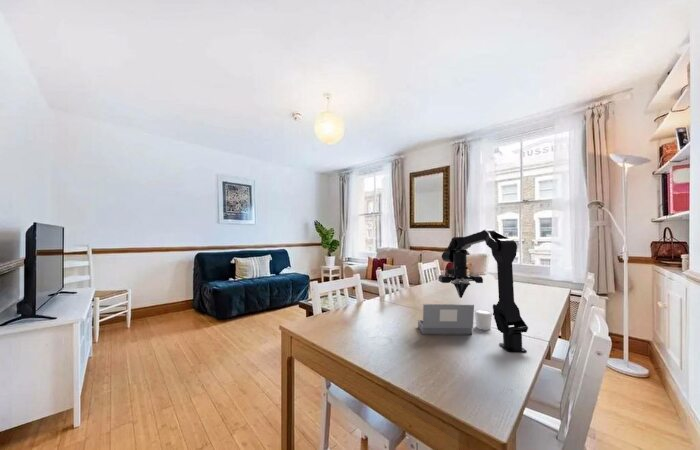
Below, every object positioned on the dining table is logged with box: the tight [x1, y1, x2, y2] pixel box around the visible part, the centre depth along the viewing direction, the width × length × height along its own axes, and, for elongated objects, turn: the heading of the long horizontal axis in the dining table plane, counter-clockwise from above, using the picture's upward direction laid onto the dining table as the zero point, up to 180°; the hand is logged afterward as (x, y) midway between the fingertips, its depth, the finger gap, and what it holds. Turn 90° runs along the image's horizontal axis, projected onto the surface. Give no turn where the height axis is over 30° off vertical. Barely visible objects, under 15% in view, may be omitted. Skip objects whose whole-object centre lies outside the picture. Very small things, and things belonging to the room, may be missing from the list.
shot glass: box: [474, 309, 493, 331], centre depth 119 cm, size 7×7×7 cm
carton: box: [417, 319, 473, 336], centre depth 115 cm, size 9×20×3 cm, turn 89°
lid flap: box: [422, 303, 475, 329], centre depth 109 cm, size 10×20×1 cm
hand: (460, 297), depth 124 cm, fingers closed
